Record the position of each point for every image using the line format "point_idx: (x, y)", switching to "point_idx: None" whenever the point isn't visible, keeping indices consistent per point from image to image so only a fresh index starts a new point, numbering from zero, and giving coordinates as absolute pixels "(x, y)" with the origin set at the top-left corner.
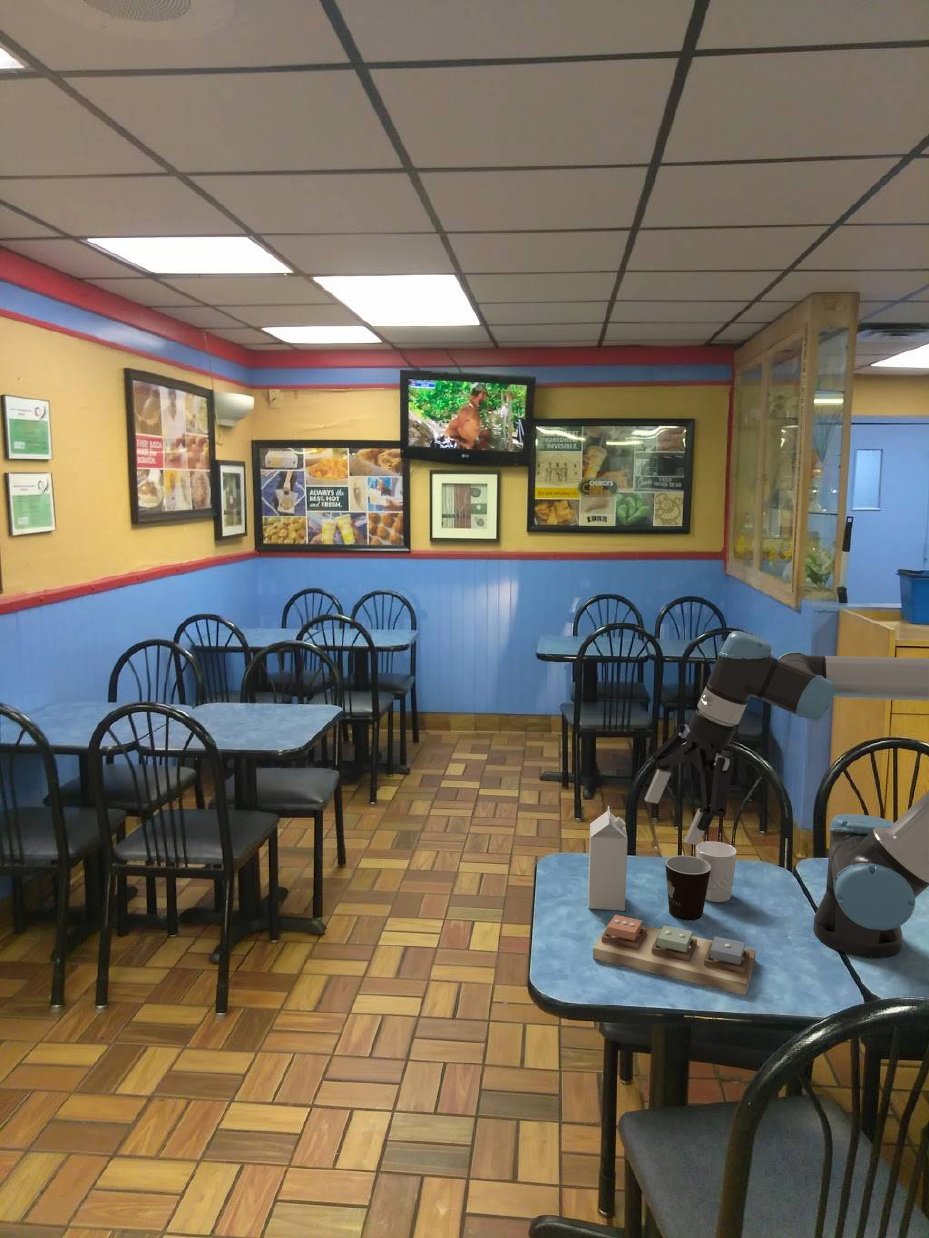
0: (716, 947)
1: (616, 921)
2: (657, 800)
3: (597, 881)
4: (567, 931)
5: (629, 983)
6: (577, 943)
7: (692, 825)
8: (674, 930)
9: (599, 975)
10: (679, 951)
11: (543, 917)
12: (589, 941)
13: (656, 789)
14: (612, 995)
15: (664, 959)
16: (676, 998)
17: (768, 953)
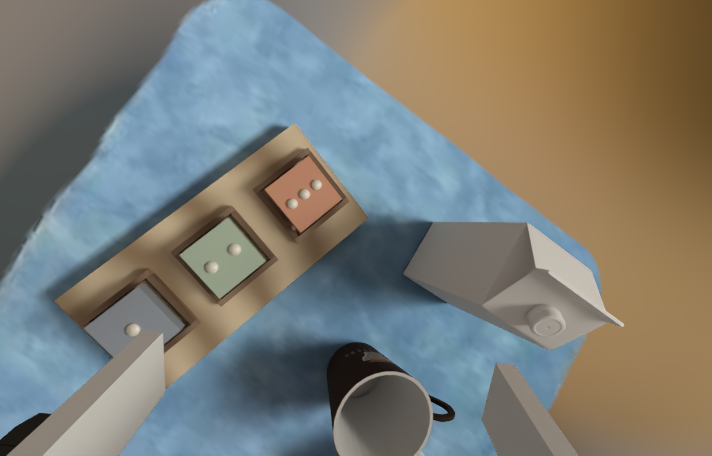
0: (140, 304)
1: (315, 181)
2: (488, 423)
3: (452, 234)
4: (385, 144)
5: (196, 133)
6: (345, 135)
7: (84, 396)
8: (238, 267)
9: (241, 104)
10: None
11: (439, 136)
12: (343, 157)
13: (522, 446)
14: (176, 83)
15: (203, 214)
16: (117, 176)
17: (172, 427)
